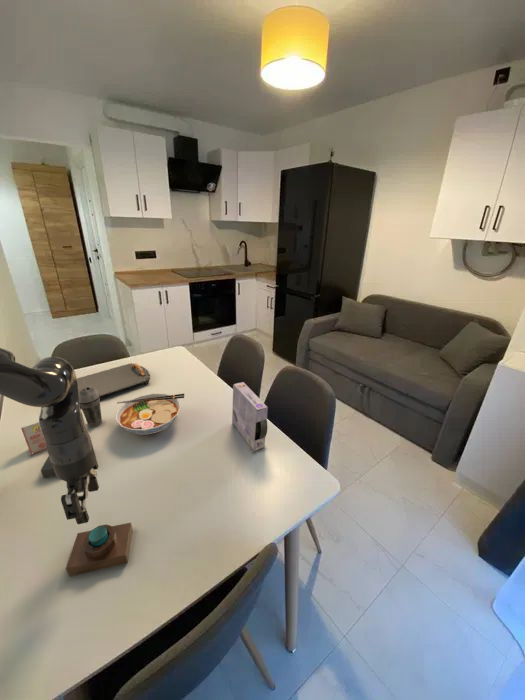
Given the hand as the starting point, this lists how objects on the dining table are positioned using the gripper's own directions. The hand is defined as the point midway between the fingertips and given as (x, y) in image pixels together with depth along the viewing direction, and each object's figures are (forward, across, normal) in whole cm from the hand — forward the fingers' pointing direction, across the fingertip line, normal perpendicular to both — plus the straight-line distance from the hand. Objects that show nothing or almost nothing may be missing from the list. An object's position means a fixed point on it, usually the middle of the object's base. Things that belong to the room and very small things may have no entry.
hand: (89, 505), depth 67 cm
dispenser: (+12, -3, -1) cm, 13 cm away
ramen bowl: (+12, +43, -9) cm, 45 cm away
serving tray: (+11, +77, +14) cm, 79 cm away
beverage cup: (+11, +49, +12) cm, 52 cm away
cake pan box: (+12, +29, -44) cm, 54 cm away
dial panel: (+11, +29, +16) cm, 35 cm away
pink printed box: (+11, +39, +26) cm, 48 cm away
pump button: (+8, -3, -1) cm, 8 cm away
